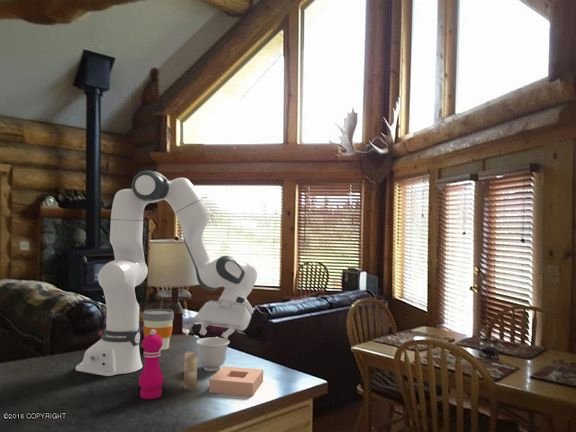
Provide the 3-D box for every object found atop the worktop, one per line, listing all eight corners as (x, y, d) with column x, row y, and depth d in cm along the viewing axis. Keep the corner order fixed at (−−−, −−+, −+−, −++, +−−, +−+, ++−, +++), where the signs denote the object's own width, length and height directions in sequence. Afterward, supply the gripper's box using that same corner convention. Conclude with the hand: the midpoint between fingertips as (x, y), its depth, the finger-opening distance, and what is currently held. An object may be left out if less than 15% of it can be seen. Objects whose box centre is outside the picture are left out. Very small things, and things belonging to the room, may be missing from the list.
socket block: (209, 392, 150) (209, 379, 150) (222, 378, 164) (223, 366, 164) (252, 396, 147) (253, 383, 147) (263, 381, 161) (263, 369, 161)
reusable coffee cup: (148, 343, 207) (149, 308, 207) (177, 344, 205) (178, 309, 206) (136, 350, 194) (137, 313, 194) (166, 352, 193) (167, 315, 193)
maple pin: (181, 389, 151) (182, 354, 152) (186, 385, 155) (187, 351, 156) (193, 390, 151) (194, 355, 151) (198, 386, 155) (199, 352, 155)
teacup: (232, 362, 182) (233, 335, 182) (226, 374, 167) (227, 346, 167) (200, 361, 182) (201, 334, 182) (191, 373, 167) (192, 344, 168)
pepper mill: (156, 401, 142) (158, 332, 142) (133, 398, 143) (135, 331, 143) (167, 392, 149) (169, 327, 149) (145, 390, 150) (147, 326, 150)
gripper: (204, 294, 174) (185, 326, 166) (250, 300, 164) (232, 334, 156) (211, 305, 178) (193, 336, 170) (257, 311, 168) (240, 345, 159)
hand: (212, 335), depth 162 cm, fingers open, 8 cm apart
